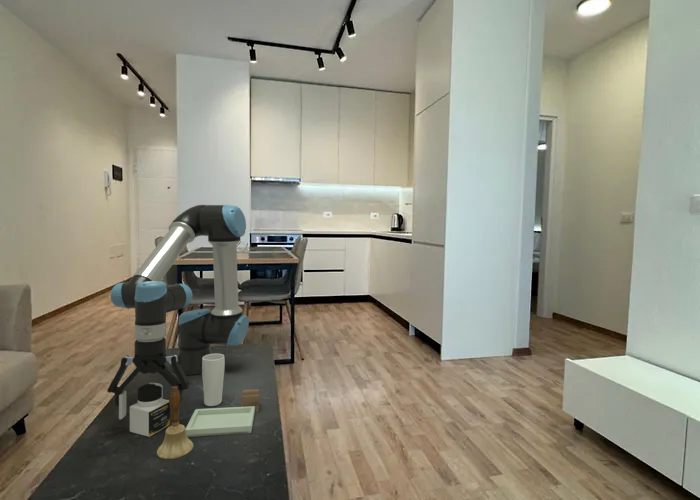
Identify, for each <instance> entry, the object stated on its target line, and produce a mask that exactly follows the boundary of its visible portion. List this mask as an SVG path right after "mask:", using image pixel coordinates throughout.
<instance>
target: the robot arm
mask: <svg viewBox="0 0 700 500" xmlns="http://www.w3.org/2000/svg"><path fill="white" fill-rule="evenodd" d="M246 231H247V221H246V216H245V215H244V212H243V211H242V209H241V208H240V207H238V206H237V205H232V204H231V205H230V204H229V205H228V204H197V205H194V206H192V207H189V208H187V209H186V210H184V211H183V212H181V213H180V214H179V215H177V216H176V218H174V219H173V220H172V222H171V223H170V224H169V225H168V232H167V233H166V234H165V235H164V237H162V239H161V240H160V241H159V243H158V244H157V245H156V247H155V248H154V249H153V250H152V252H151V253H150V254H149V255H148V257H147V258H146V259H145V260H144V262H143V263H142V264H141V265H140V267H139V268H138V269H137V270H136V272H135V273H134V274H133V275H132V277H131V278H130V279H129V280H128V282H120V283H117V284H115V285H114V286H113V287H112V289H111V292H110V301H111V302H112V305H114V307H115V306H116V307H117V308H121V309H128V310H129V309H134V316H135V318H134V339H135V341H134V352H133V353H134V356H133V357H132V356H130V355H127V354H126V355H125V356H123V357H122V358H121V359H120V365H119V368H118V370H117V371H116V373H115V376H114V377H113V378H112V381H111V383H110V384H109V387H108V388H107V393H109V394H110V393H113V394H114V395H115V396H114V398H115V406H116V407H118V420H122V419H124V417H126V415H127V390H125V388H126V387H127V386H128V385H129V384H130V383H131V382H132V381H133V380H134V379H135V378H136V376H137V375H138V374H139V373H142V374H144V375H145V374H156V373H158V374H159V375H160V376H162V378H164V380H165V381H167V383H168V384H169V385H170V386H171V388H172V387H173V386H177V387H178V390H179V393H180V398H181V401H180V404H181V403H182V402H183V399H184V391H185V390H188V389H189V387H190V386H191V383H190V381H189V378H188V377H187V376H193V375H194V376H195V375H200V374H201V375H202V358H203V356H205V355H208V354H213V352H212V349H211V345H221V346H222V345H223V346H228V347H229V346H239V345H240V344H241V343H243V342H244V341H245V338H246V336H247V334H248V331H249V324H250V323H249V321H250V320H249V316H247V315H246V314H243V313H244V311H243V308H242V307H241V306H240V305H239V284H238V283H239V281H238V254H237V253H238V252H237V251H238V250H237V249H238V247H237V245H238V244H239V243H240V242H241V237H244V236H245V234H246ZM200 236H205V237H207V241H208V243H209V245H212V246H211V247H212V259H213V260H212V261H213V262H212V263H213V265H212V266H213V282H214V283H213V284H214V289H213V290H214V308H213V309H212V310H211V309H210V308H200V309H198V308H197V309H193V310H188V311H185V312H182V313H181V314H180V315H179V316H178V351H177V353H175V354H173V355H168V356H167V354H166V352H167V351H166V348H167V346H166V344H167V341H166V340H167V339H166V338H165V337H166V336H167V314H168V313H169V312H174V311H177V310H181V309H182V310H183V308H186V307H188V306H189V305H190V304H191V302H192V300H193V291H192V289H191V288H190V286H188V285H187V284H185V283H174V284H167V283H166V282H164V281H162V280H163V278H164V277H165V276H166V274H167V273H168V272H169V270H170V269H171V268H172V266H173V265H174V263H175V262H176V261H177V259H178V257H179V256H180V255H181V253H182V252H183V251H184V249H185V248H186V247H187V245H188V244H190V243H193V241H194V240H195V239H196V238H197V237H200ZM166 362H168V363H169V364H170V365H171V368H172V369H173V372H174V373H175V375H174V374H173V373H172V372H171V371H170V370H169V368H168V367H167V365H166V364H165V363H166ZM132 363H133V365H134V366H135V369H134V370H132V372H130V374H129V376H128V377H126V379H125V380H124V381H123V382H122V383H121V384H120V385H119V383H120V382H121V379H122V377H123V376H124V374H125V372H126V371H127V369H128V367H129V365H131V364H132ZM118 385H119V386H118ZM179 412H180V411H178V413H179Z"/></svg>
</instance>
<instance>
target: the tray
mask: <svg viewBox="0 0 700 500" xmlns="http://www.w3.org/2000/svg"><path fill="white" fill-rule="evenodd" d="M255 413H256V412H255V406H249V407H241V406H232V407H216V408H215V407H213V408H210V407H209V408H196V409H195V410H194V412H193V413H192V415H191V418H190V419H189V421H188V424H187V425H186V427H185V430H186V435H187V438H198V437H211V436H213V437H214V436H227V435H228V436H230V435H242V434H243V435H244V434H245V435H246V434H252V430H253V425H254V418H255Z"/></svg>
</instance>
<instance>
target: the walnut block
mask: <svg viewBox="0 0 700 500" xmlns="http://www.w3.org/2000/svg"><path fill="white" fill-rule="evenodd" d="M260 391H261V390H260V389H257V388H256V389H242V394H241V399H240V400H241V401H240V402H241V405H240V407H249V406H255V413H259V409H260V394H261V393H260Z"/></svg>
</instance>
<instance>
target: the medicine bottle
mask: <svg viewBox="0 0 700 500" xmlns="http://www.w3.org/2000/svg"><path fill="white" fill-rule="evenodd" d="M163 388H164V385H162V384H161V383H158V382H149V383H146V384H143V385H141V386H140V387H139V388H138V389H137V402H136V403H134V404H132V405H130V406H129V432H130V433H133V434H137V435H141V436H145V437H148V438H150V437H152V436H153V435H155V434H156V433H159V432H160V431H162V430H163V429H165V428H168V427H170V426H171V408H170V405H169V399H165V398H163V395H164V394H163V390H164V389H163Z"/></svg>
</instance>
